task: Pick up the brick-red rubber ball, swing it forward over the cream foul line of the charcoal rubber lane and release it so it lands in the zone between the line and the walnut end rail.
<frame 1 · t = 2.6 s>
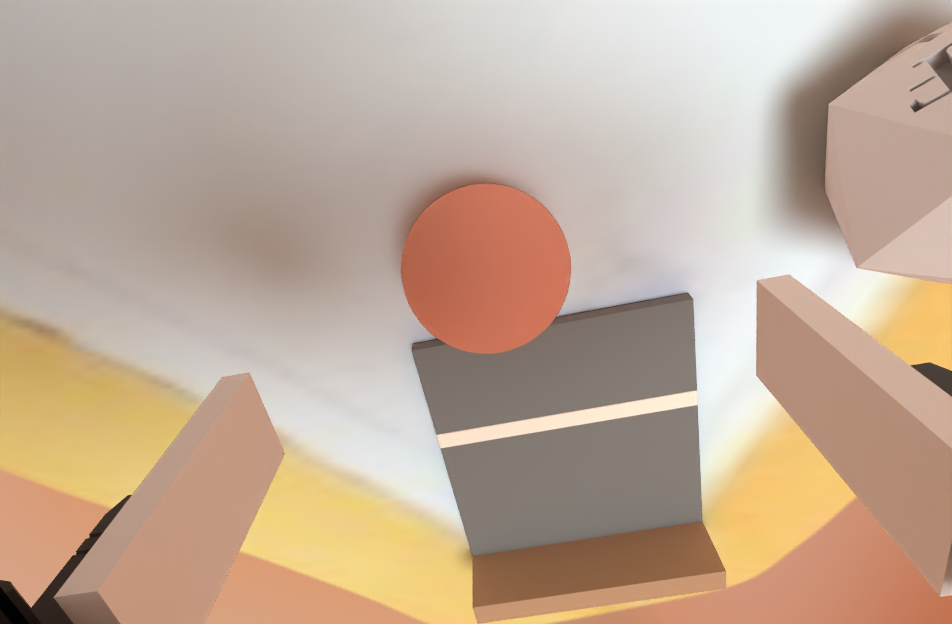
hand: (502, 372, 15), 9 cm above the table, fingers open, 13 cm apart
ball: (484, 241, 23), on the table
lane: (569, 444, 28), on the table
die: (894, 132, 21), on the table
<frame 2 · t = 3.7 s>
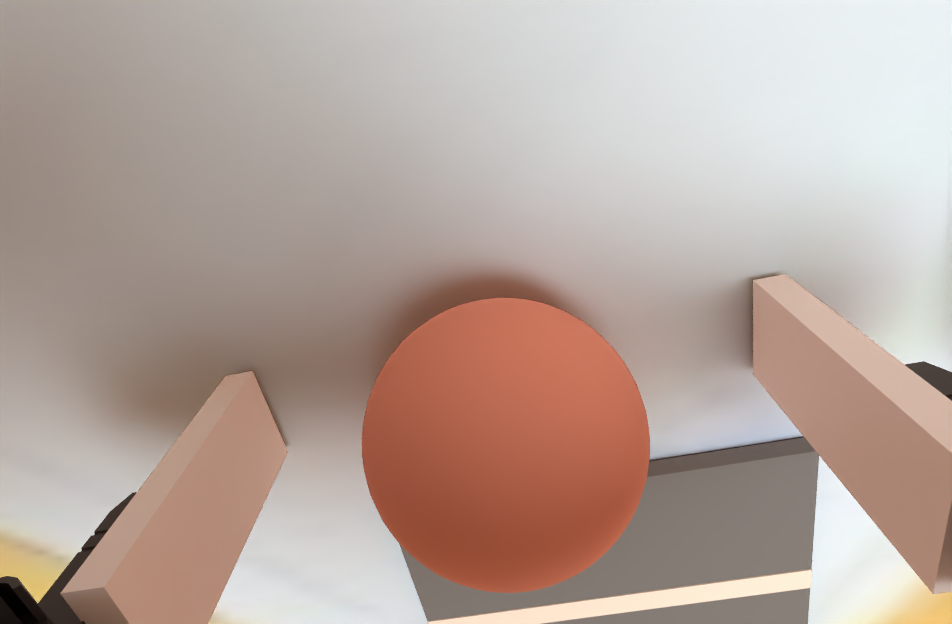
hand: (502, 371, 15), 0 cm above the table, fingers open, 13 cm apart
ball: (499, 365, 15), on the table
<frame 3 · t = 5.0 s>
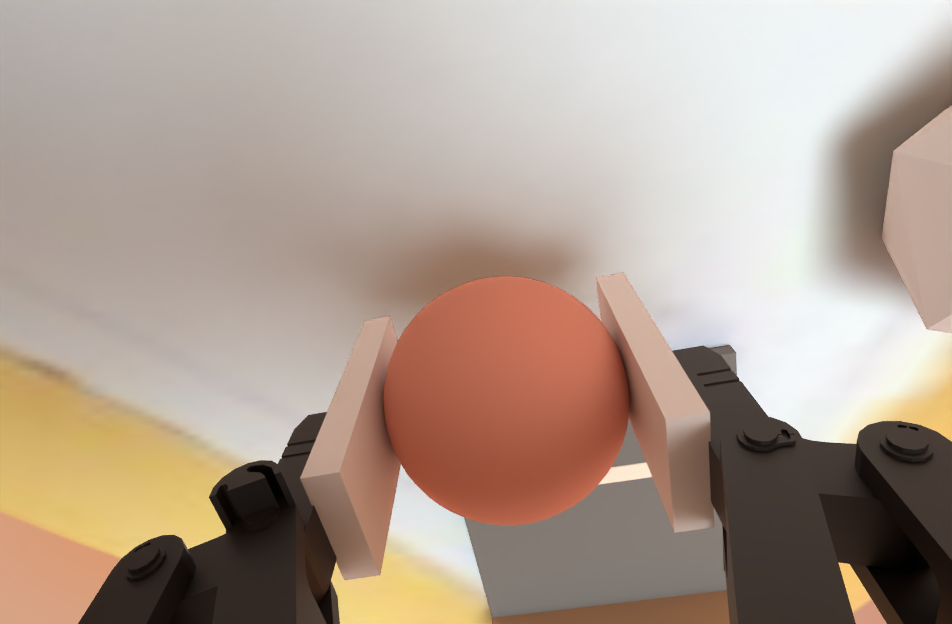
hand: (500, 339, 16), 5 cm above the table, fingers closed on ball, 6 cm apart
ball: (502, 340, 17), point 5 cm above the table, touching gripper
lane: (598, 502, 26), on the table
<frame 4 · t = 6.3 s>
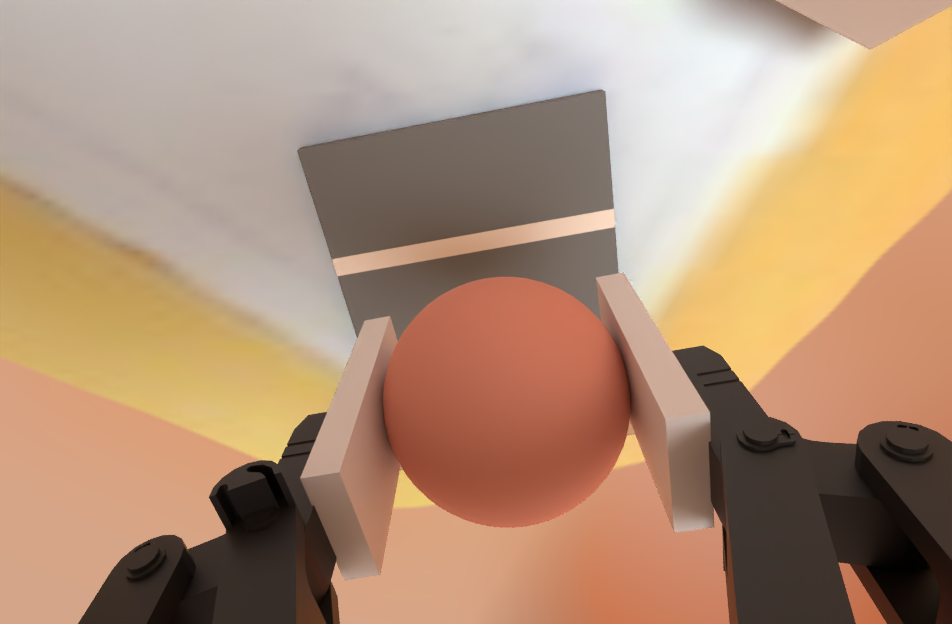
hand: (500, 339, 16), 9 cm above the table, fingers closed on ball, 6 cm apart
ball: (502, 341, 17), point 9 cm above the table, touching gripper
lane: (480, 279, 25), on the table
when the fingers open (2 cm above the table, at t = 7.6 s): ball stays where it is, resting on lane.
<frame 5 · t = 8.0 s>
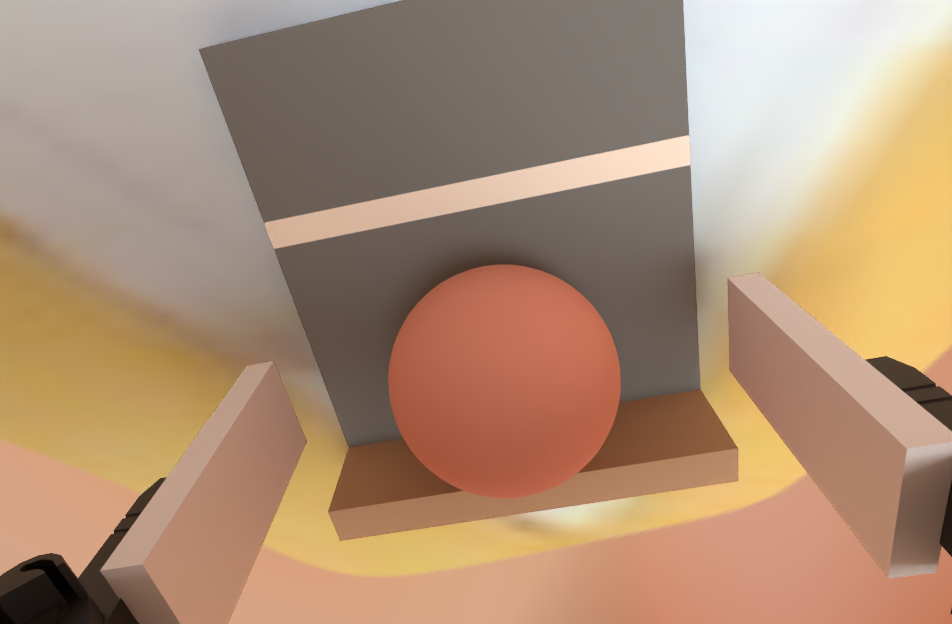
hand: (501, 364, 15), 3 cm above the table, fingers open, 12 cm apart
ball: (500, 327, 18), point 1 cm above the table, touching lane
lane: (485, 253, 17), on the table
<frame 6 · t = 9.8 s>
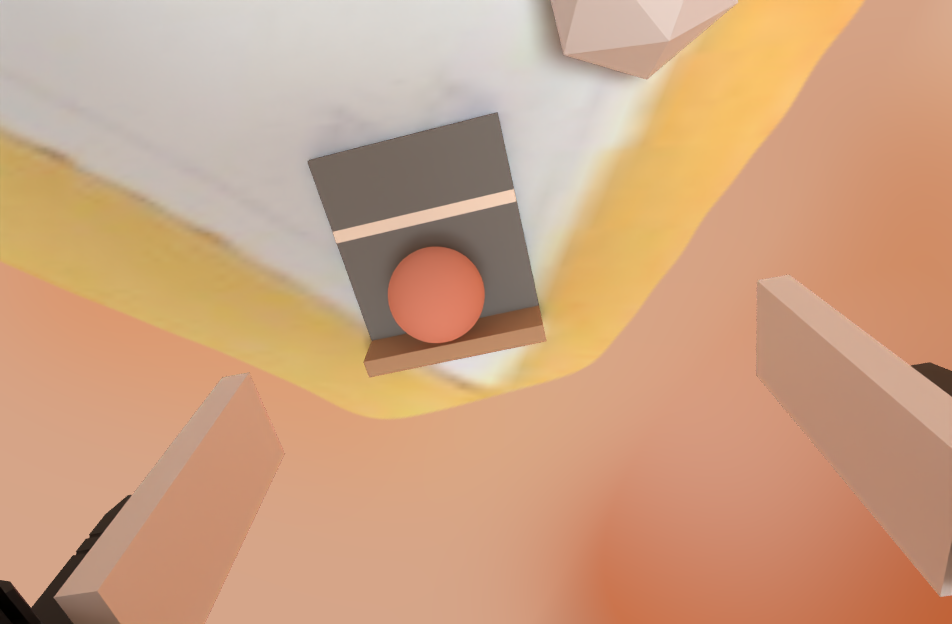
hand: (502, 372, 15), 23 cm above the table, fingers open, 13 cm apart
ball: (440, 277, 38), point 1 cm above the table, touching lane
lane: (432, 242, 38), on the table
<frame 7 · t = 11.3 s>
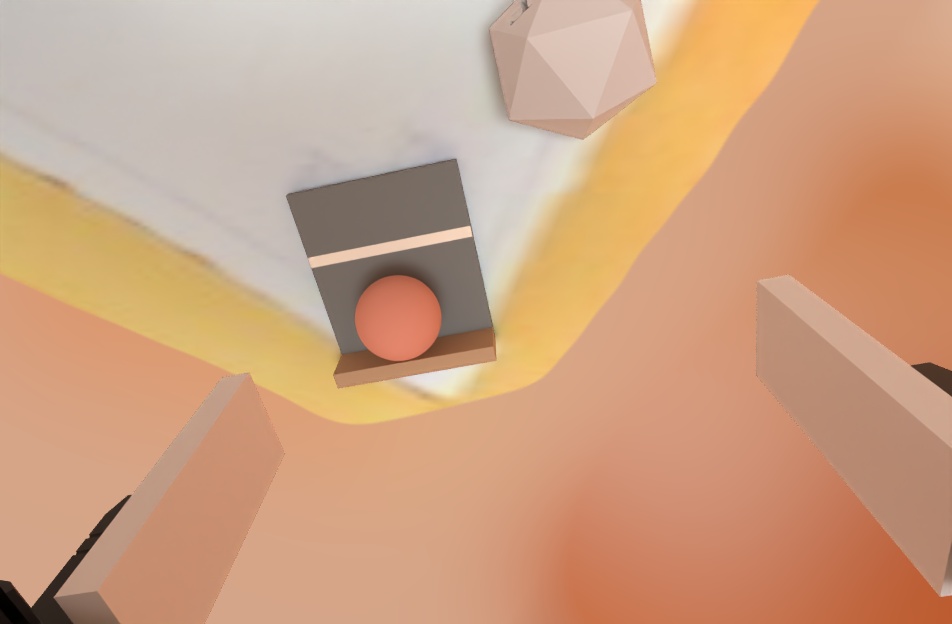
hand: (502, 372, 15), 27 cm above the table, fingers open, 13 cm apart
ball: (404, 300, 43), point 1 cm above the table, touching lane
lane: (397, 269, 42), on the table
die: (562, 53, 36), on the table
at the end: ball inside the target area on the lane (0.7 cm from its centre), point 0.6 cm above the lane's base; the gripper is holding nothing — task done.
